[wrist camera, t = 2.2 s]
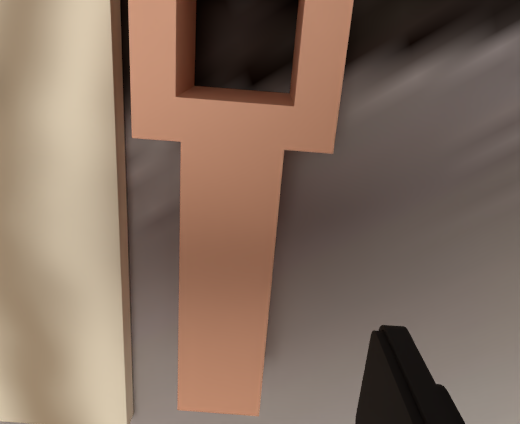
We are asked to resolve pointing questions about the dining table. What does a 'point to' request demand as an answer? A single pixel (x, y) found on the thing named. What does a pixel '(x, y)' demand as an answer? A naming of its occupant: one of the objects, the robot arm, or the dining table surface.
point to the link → (230, 183)
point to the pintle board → (63, 215)
